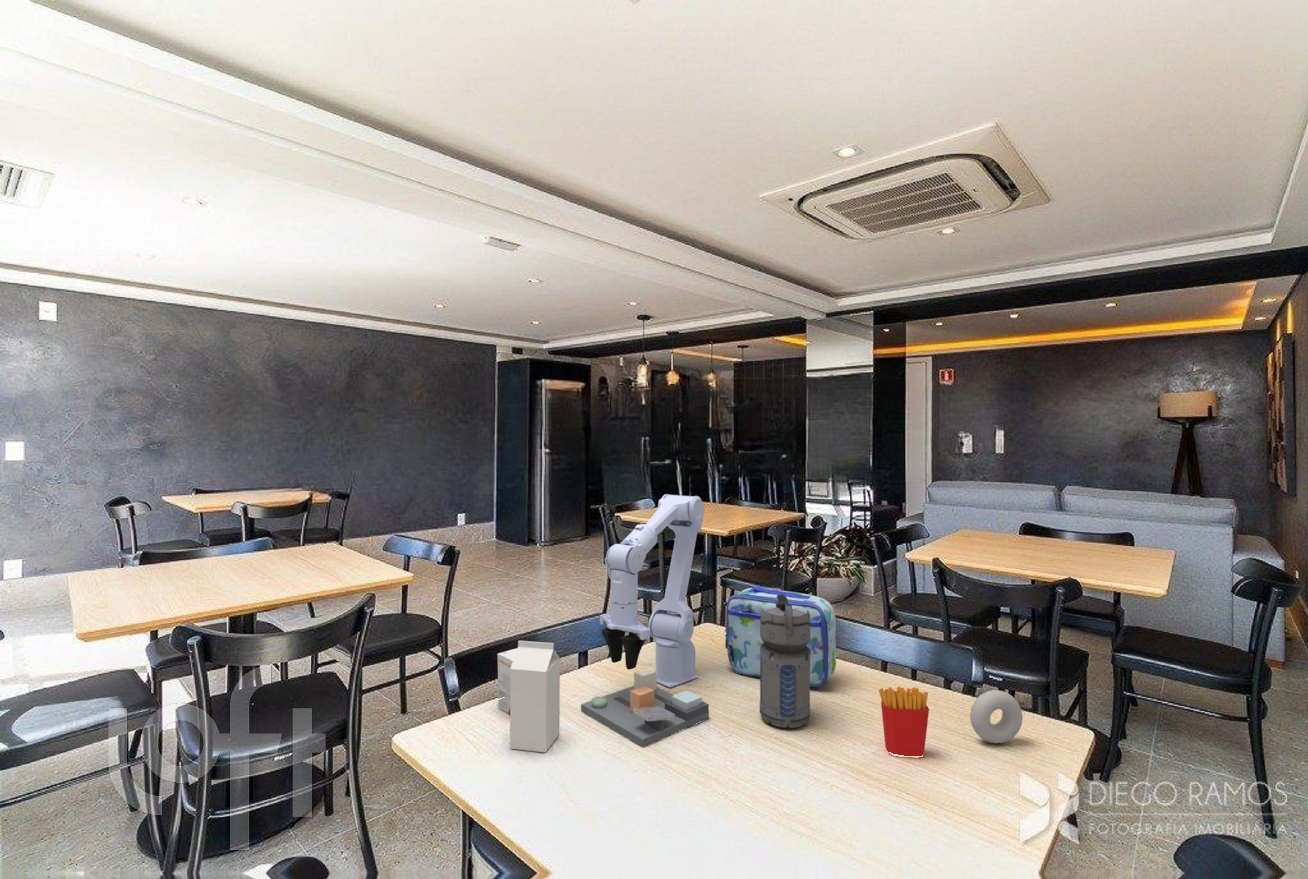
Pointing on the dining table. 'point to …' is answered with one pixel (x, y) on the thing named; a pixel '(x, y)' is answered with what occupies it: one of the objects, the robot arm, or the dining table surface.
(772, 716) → the beverage bottle
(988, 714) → the donut
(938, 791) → the dining table surface
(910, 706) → the french fries
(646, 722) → the control board
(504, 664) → the ink box
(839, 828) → the dining table surface
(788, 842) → the dining table surface
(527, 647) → the milk carton
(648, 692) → the terracotta slider
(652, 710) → the aluminium rocker
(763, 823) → the dining table surface
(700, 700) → the grey button
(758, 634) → the lunch box
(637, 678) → the ivory slider
